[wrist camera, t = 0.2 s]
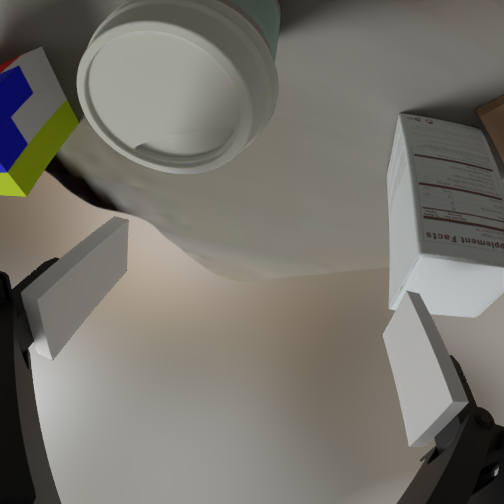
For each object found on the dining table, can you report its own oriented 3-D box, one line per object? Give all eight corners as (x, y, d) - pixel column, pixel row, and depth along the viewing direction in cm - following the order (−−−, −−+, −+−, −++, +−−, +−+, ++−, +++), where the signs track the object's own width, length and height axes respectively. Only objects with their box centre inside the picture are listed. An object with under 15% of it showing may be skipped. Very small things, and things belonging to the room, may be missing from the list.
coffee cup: (171, 50, 20) (81, 158, 14) (184, -52, 13) (54, 3, 7) (282, 78, 21) (242, 204, 15) (320, -24, 13) (302, 38, 8)
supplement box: (458, 188, 25) (476, 320, 19) (384, 176, 27) (384, 311, 20) (484, 127, 19) (530, 272, 12) (398, 108, 20) (417, 256, 14)
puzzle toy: (42, 46, 20) (-33, 116, 15) (79, 122, 28) (26, 196, 23) (-10, 69, 22) (-69, 132, 17) (26, 130, 30) (-20, 194, 25)
